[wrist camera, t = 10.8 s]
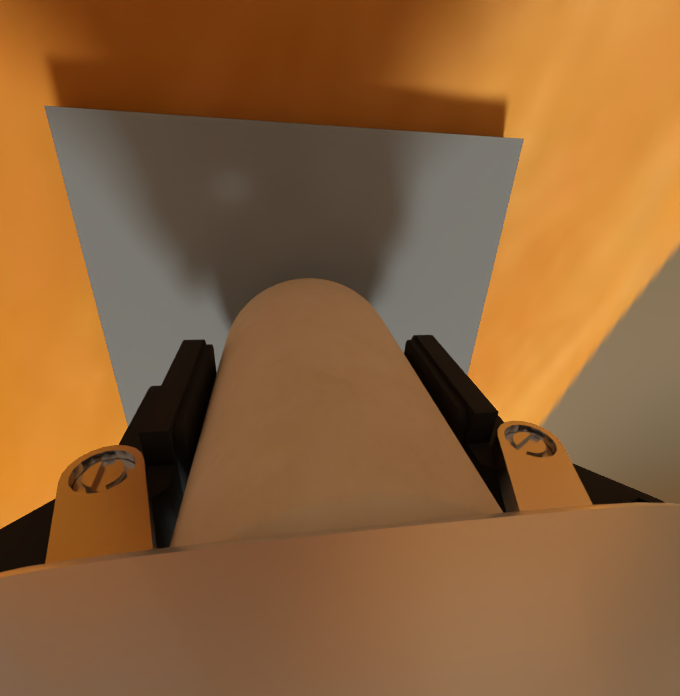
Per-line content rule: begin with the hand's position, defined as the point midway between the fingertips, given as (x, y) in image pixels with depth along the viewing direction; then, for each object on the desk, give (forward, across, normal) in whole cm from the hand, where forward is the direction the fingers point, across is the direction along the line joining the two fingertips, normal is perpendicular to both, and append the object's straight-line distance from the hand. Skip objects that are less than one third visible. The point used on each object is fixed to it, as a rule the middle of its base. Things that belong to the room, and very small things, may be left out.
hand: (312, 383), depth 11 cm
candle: (+2, 0, 0) cm, 2 cm away
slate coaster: (+5, 0, 0) cm, 5 cm away
